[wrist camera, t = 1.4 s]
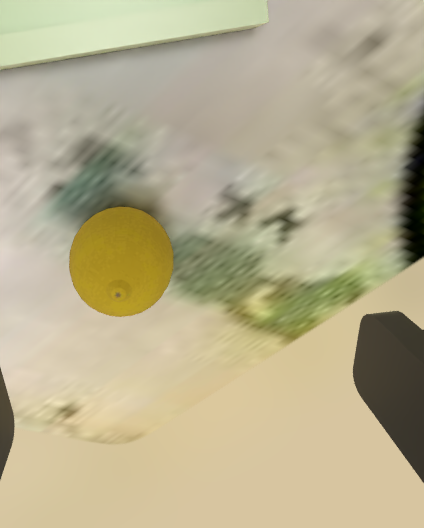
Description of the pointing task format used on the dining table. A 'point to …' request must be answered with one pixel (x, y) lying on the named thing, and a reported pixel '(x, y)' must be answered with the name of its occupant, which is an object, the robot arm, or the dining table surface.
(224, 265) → the dining table surface
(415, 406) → the robot arm
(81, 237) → the lemon
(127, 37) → the tray
